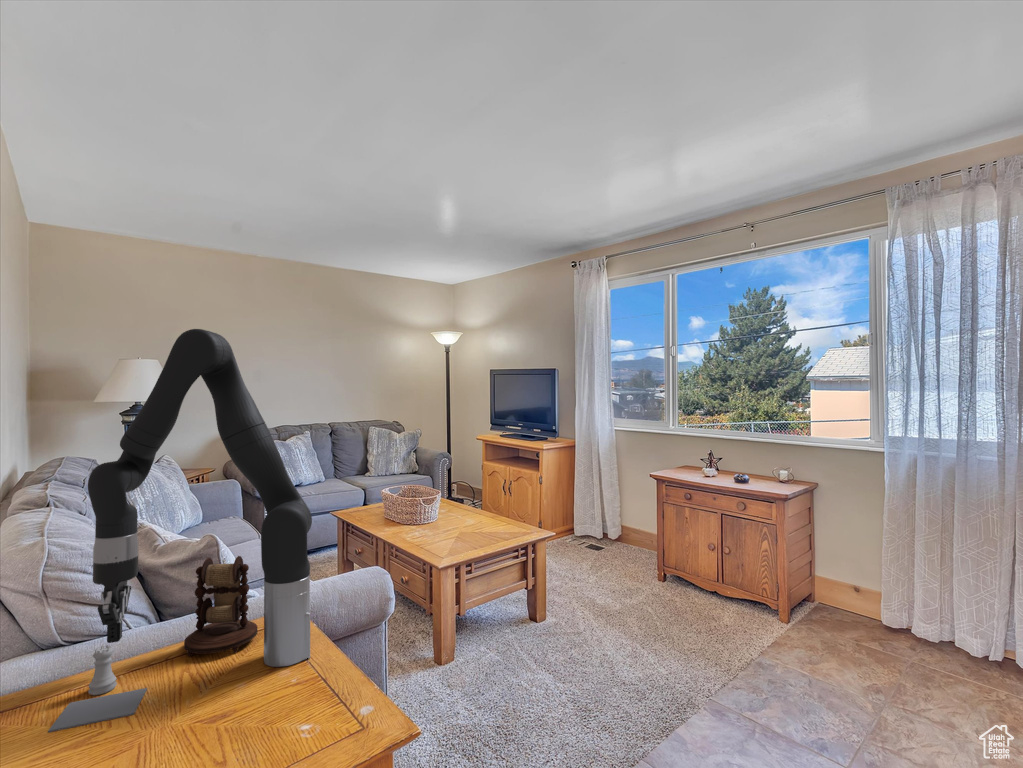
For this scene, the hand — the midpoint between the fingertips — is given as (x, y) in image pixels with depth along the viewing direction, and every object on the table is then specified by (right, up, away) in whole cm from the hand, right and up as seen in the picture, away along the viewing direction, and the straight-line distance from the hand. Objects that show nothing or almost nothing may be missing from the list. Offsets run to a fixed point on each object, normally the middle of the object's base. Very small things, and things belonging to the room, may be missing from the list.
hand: (114, 640), depth 106 cm
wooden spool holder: (+16, -7, +12) cm, 21 cm away
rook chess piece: (+3, -7, -7) cm, 10 cm away
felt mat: (+8, -6, -13) cm, 17 cm away
